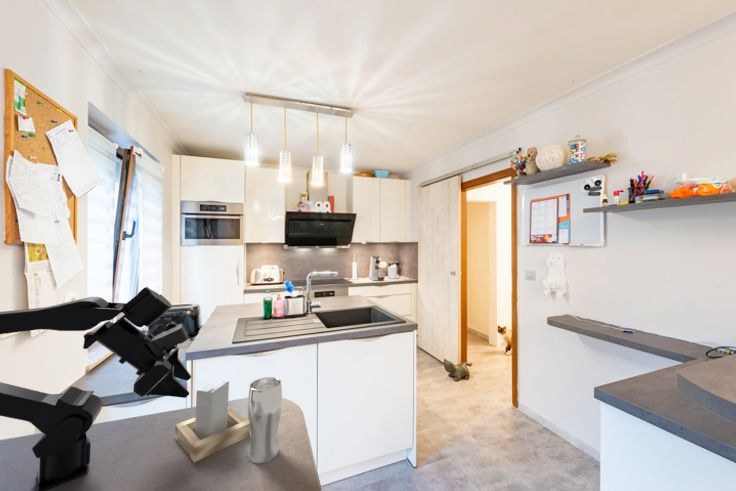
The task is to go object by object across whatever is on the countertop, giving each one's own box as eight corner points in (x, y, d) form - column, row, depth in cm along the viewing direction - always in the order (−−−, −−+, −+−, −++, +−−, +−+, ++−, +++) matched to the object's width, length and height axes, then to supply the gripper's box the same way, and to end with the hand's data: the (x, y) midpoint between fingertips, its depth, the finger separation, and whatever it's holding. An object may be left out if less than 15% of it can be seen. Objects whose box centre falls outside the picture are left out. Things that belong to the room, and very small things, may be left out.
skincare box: (212, 428, 73) (213, 378, 73) (228, 430, 72) (230, 380, 72) (193, 444, 67) (194, 389, 67) (210, 447, 66) (212, 391, 66)
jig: (194, 462, 61) (194, 447, 61) (174, 437, 69) (175, 424, 69) (249, 435, 70) (250, 423, 70) (227, 416, 78) (227, 405, 78)
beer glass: (270, 467, 60) (272, 392, 60) (239, 462, 61) (241, 388, 62) (286, 445, 67) (288, 378, 67) (258, 441, 68) (260, 375, 68)
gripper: (157, 323, 57) (219, 372, 62) (168, 306, 73) (216, 346, 78) (102, 372, 53) (172, 419, 58) (126, 342, 69) (180, 381, 74)
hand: (188, 386), depth 67 cm, fingers open, 9 cm apart
